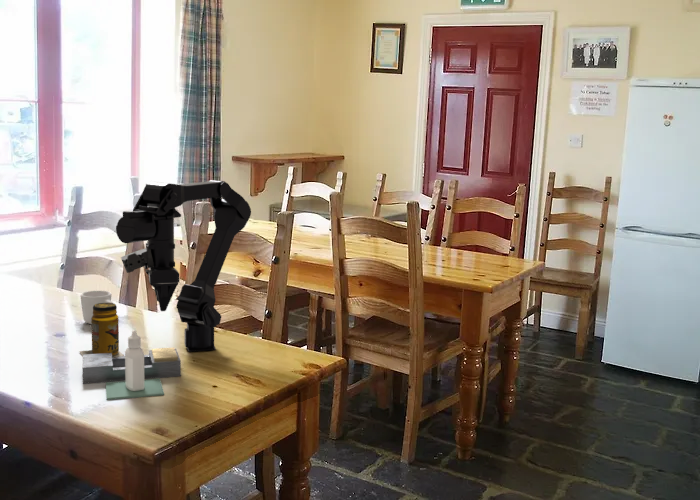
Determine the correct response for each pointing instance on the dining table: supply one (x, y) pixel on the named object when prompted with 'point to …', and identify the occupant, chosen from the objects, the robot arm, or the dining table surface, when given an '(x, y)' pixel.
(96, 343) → the condiment
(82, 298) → the cup
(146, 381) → the mat
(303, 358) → the dining table surface
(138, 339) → the eye dropper bottle
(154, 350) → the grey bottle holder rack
